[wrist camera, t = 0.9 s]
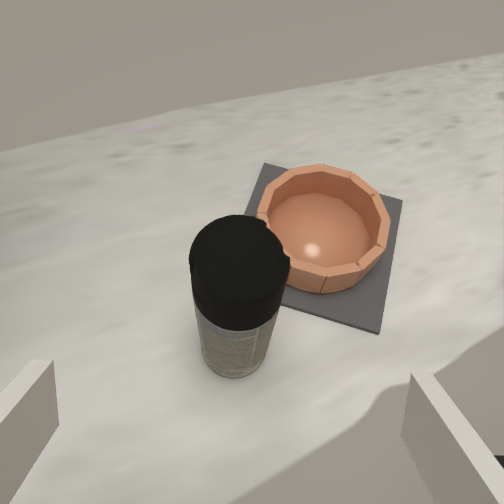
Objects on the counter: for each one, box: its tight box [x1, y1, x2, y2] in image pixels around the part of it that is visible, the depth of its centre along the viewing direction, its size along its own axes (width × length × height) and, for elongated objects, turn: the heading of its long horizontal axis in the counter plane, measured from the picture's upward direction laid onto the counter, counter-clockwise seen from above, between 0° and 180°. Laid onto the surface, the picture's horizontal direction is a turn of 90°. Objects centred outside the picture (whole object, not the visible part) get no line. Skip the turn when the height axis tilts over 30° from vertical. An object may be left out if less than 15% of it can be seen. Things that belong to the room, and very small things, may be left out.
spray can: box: [189, 215, 290, 378], centre depth 36 cm, size 7×7×20 cm
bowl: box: [256, 164, 391, 294], centre depth 49 cm, size 14×14×5 cm
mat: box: [244, 163, 403, 334], centre depth 51 cm, size 18×18×1 cm
